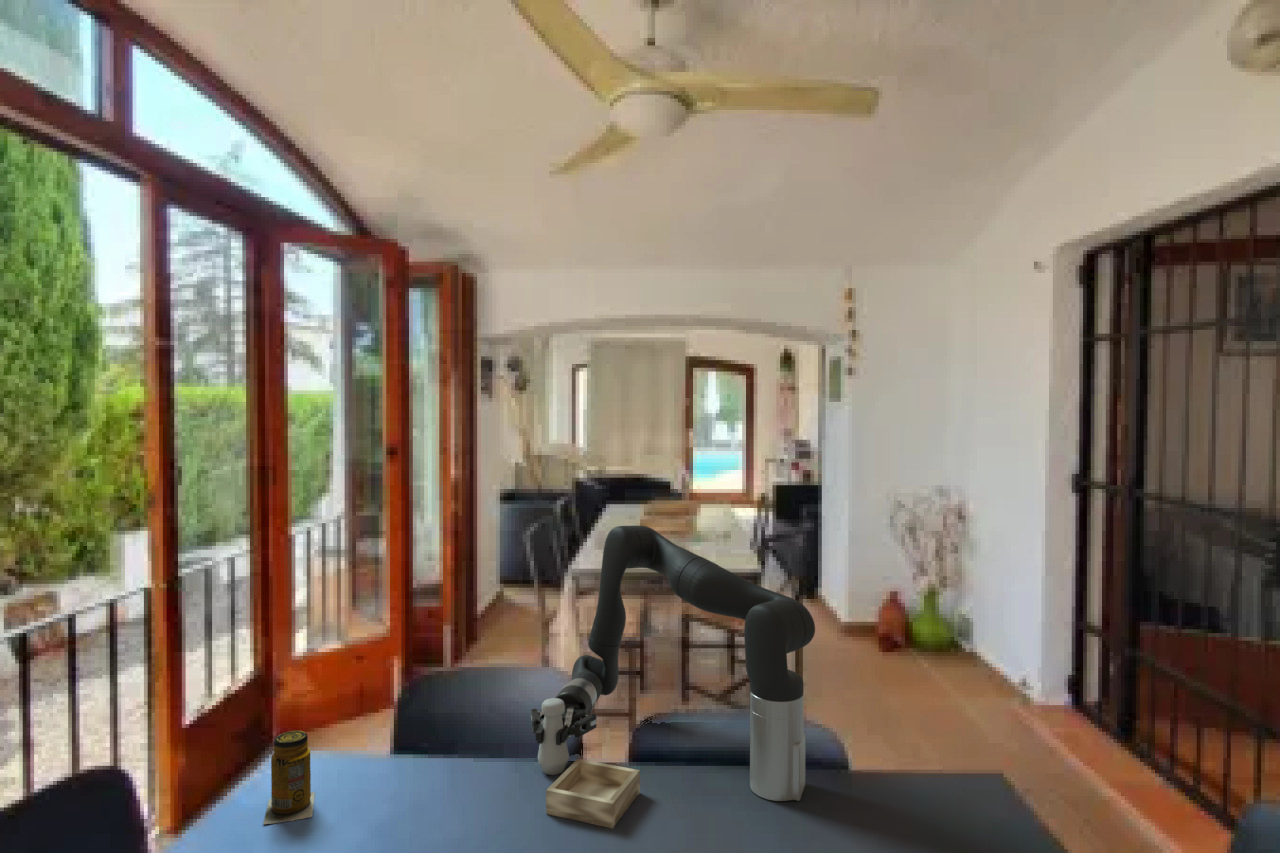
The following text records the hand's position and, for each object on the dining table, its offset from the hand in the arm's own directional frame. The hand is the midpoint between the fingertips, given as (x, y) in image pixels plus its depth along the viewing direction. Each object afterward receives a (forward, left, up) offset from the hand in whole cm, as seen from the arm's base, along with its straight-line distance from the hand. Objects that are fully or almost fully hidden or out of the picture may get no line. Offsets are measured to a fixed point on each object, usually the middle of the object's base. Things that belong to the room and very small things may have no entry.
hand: (548, 739), depth 138 cm
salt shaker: (0, -3, -7) cm, 8 cm away
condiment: (+35, +25, -7) cm, 44 cm away
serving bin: (-12, +5, -7) cm, 14 cm away
